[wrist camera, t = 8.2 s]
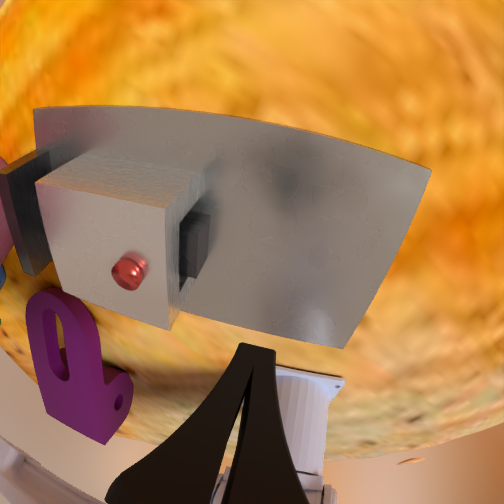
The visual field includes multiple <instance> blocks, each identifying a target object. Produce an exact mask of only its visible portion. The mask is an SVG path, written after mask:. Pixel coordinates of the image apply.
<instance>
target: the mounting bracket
mask: <svg viewBox="0 0 504 504" xmlns="http://www.w3.org/2000/svg"><path fill="white" fill-rule="evenodd" d="M55 313H56V314H57V315H58V317H59V318H60V320H61V322H62V325H63V332H64V340H65V348H61V349H59V345H58V337H57V329H56V320H55ZM26 325H27V332H28V338H29V343H30V349H31V354H32V359H33V363H34V368H35V372H36V376H37V380H38V384H39V388H40V391H41V395H42V399H43V402H44V405H45V408H46V412H47V414H49V415H50V416H52V417H53V418H55V419H57V420H58V421H60V422H62V423H64V424H65V425H67V426H69V427H71V428H72V429H74V430H76V431H78V432H80V433H82V434H83V435H85V436H87V437H89V438H91V439H93V440H95V441H97V442H99V443H101V444H103V445H105V444H106V443H107V442H108V441H109V439H110V438H111V437H112V436H113V434H114V433H115V432H116V431H117V429H118V428H119V427H120V426H121V424H122V423H123V422H124V420H125V419H126V417H127V415H128V412H129V410H130V407H131V403H132V398H133V383H132V381H131V379H130V377H129V375H128V373H125V372H123V371H120V370H117V369H115V368H112V367H110V366H106V367H103V368H102V358H101V346H100V338H99V334H98V330H97V327H96V325H95V322H94V320H93V318H92V316H91V315H90V313H89V311H88V310H87V308H86V307H85V305H84V304H83V303H82V302H81V301H80V300H79V299H78V298H77V297H76V296H73V295H71V294H69V293H66V292H64V291H63V289H60V288H57V287H51V288H48V289H46V290H43V291H40V292H38V293H36V294H34V295H33V296H32V297H31V298H30V299H29V301H28V304H27V307H26Z"/></svg>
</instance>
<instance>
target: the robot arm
mask: <svg viewBox="0 0 504 504" xmlns="http://www.w3.org/2000/svg"><path fill="white" fill-rule="evenodd" d="M344 385H345V379H344V378H339V377H333V376H327V375H321V374H316V373H310V372H305V371H300V370H295V369H290V368H285V367H280V366H276V352H275V350H272V349H268V348H264V347H259V346H255V345H251V344H247V343H243V342H242V343H239V345H238V348H237V350H236V352H235V355H234V357H233V359H232V360H231V362H230V364H229V366H228V367H227V369H226V371H225V372H224V374H223V375H222V377H221V378H220V380H219V381H218V382H217V384H216V385H215V387H214V388H213V390H212V391H211V392H210V393H209V395H208V396H207V397H206V398H205V400H204V401H203V402H202V403H201V405H200V406H199V407H198V408H197V409H196V410H195V412H194V413H193V414H192V415H191V416H190V417H189V418H188V419H187V420H186V421H185V422H184V423H183V424H182V425H181V426H180V427H179V428H178V429H177V430H176V431H175V432H174V433H173V434H172V435H171V436H170V437H169V438H167V439H166V440H165V441H164V442H163V443H162V444H160V445H159V446H158V447H157V448H155V449H154V450H153V451H152V452H150V453H149V454H148V455H147V456H145V457H144V458H143V459H141V460H140V461H138V462H137V463H135V464H134V465H132V466H131V467H129V468H128V469H126V470H125V471H123V472H122V473H121V474H120V475H119V476H118V477H117V478H116V479H115V480H114V482H113V483H112V484H111V486H110V487H109V489H108V492H107V494H106V497H105V501H106V503H108V504H337V492H336V490H335V489H333V488H332V486H331V485H324V486H323V480H324V479H323V478H324V477H323V476H322V469H323V461H324V451H325V441H326V430H327V418H328V404H329V403H330V402H331V400H332V399H333V398H334V397H335V396H336V395H337V393H338V392H339V391H340V390H341V389H342V387H343V386H344ZM244 396H245V397H244ZM243 399H244V400H243ZM242 402H243V403H242ZM241 404H242V407H243V409H242V416H241V422H240V428H239V434H238V441H237V446H236V451H235V455H234V458H233V462H232V466H231V467H226V469H225V473H224V474H219V470H220V466H221V463H222V459H223V456H224V452H225V449H226V445H227V442H228V439H229V436H230V434H231V431H232V428H233V426H234V423H235V421H236V418H237V415H238V413H239V410H240V407H241ZM322 487H323V489H322ZM0 494H1V495H2V496H3V497H4V498H5V499H6V500H7V501H9V503H10V504H106V503H104V502H101V501H100V500H98V499H96V498H94V497H92V496H90V495H88V494H86V493H84V492H82V491H81V490H79V489H77V488H76V487H74V486H72V485H70V484H69V483H67V482H65V481H64V480H62V479H61V478H59V477H57V476H56V475H54V474H53V473H51V472H50V471H48V470H47V469H45V468H44V467H42V466H41V464H40V463H39V462H38V461H36V460H35V459H33V458H32V457H30V456H29V455H28V454H27V453H25V452H24V451H22V450H21V449H19V448H18V447H16V446H14V445H13V444H11V443H10V442H9V441H7V440H6V439H5V438H3V437H2V436H1V435H0Z"/></svg>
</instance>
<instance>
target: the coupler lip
mask: <svg viewBox="0 0 504 504" xmlns="http://www.w3.org/2000/svg"><path fill="white" fill-rule="evenodd" d="M33 114H34V129H35V140H36V150H34V151H32V152H31V153H29V154H27V155H25V156H23V157H21V158H19V159H18V160H16V161H14V162H12V163H11V164H9V165H7V166H5V167H4V168H2V169H0V197H1V201H2V205H3V209H4V213H5V217H6V220H7V224H8V227H9V230H10V234H11V237H12V240H13V243H14V246H15V249H16V252H17V255H18V257H19V260H20V263H21V266H22V268H23V271H24V272H25V273H27V274H30V275H32V276H34V277H37V276H38V274H39V273H40V272H41V271H42V270H43V269H44V268H45V267H46V266H47V265H48V264H49V263H50V262H51V261H52V260H53V258H52V254H51V251H50V247H49V244H48V240H47V236H46V233H45V229H44V224H43V220H42V216H41V212H40V207H39V202H38V197H37V192H36V186H35V182H36V181H38V180H39V179H41V178H42V177H44V176H46V175H47V174H49V173H51V172H52V171H54V170H56V169H57V168H59V167H61V166H62V165H64V164H66V163H67V162H69V161H71V160H73V159H75V158H76V157H78V156H80V155H82V154H83V155H92V156H100V157H108V158H115V159H123V160H130V161H137V162H143V163H150V164H156V165H162V166H168V167H174V168H180V169H186V170H191V171H197V172H200V184H199V197H198V201H197V202H196V203H195V204H194V206H193V207H192V208H191V209H190V211H189V212H188V213H187V214H186V216H185V217H184V218H183V219H182V221H181V222H180V223H179V275H183V276H187V277H191V278H194V285H193V287H192V289H191V291H190V293H189V294H188V296H187V298H186V300H185V302H184V304H183V306H182V308H181V311H184V312H188V313H191V314H195V315H198V316H202V317H205V318H209V319H213V320H216V321H220V322H224V323H228V324H231V325H235V326H239V327H243V328H247V329H251V330H255V331H260V332H264V333H268V334H272V335H277V336H281V337H285V338H290V339H295V340H299V341H304V342H309V343H314V344H319V345H324V346H329V347H334V348H339V349H343V348H344V347H345V345H346V344H347V342H348V341H349V339H350V337H351V336H352V334H353V332H354V331H355V329H356V328H357V326H358V324H359V322H360V321H361V319H362V317H363V316H364V314H365V312H366V311H367V309H368V307H369V305H370V303H371V302H372V300H373V298H374V296H375V295H376V293H377V291H378V289H379V287H380V285H381V283H382V282H383V280H384V278H385V276H386V274H387V272H388V270H389V268H390V266H391V264H392V262H393V260H394V258H395V256H396V254H397V252H398V250H399V248H400V246H401V244H402V242H403V239H404V237H405V235H406V233H407V231H408V229H409V226H410V224H411V222H412V220H413V217H414V215H415V213H416V210H417V208H418V206H419V203H420V201H421V198H422V196H423V193H424V191H425V188H426V186H427V183H428V181H429V178H430V175H431V173H432V170H431V169H429V168H426V167H424V166H421V165H419V164H416V163H413V162H410V161H408V160H405V159H402V158H399V157H396V156H394V155H391V154H388V153H385V152H382V151H379V150H376V149H372V148H369V147H366V146H363V145H359V144H356V143H353V142H349V141H346V140H342V139H338V138H335V137H331V136H327V135H323V134H319V133H315V132H311V131H307V130H303V129H299V128H294V127H290V126H285V125H280V124H275V123H270V122H265V121H260V120H254V119H249V118H243V117H236V116H230V115H223V114H216V113H209V112H200V111H192V110H182V109H171V108H158V107H142V106H114V105H84V106H57V107H42V108H35V109H33Z"/></svg>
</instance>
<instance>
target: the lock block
mask: <svg viewBox="0 0 504 504" xmlns="http://www.w3.org/2000/svg"><path fill="white" fill-rule="evenodd" d="M199 184H200V172H197V171H191V170H186V169H180V168H174V167H168V166H162V165H156V164H150V163H143V162H137V161H130V160H123V159H115V158H108V157H100V156H92V155H83V154H82V155H80V156H78V157H76V158H75V159H73V160H71V161H69V162H67V163H66V164H64V165H62V166H61V167H59V168H57V169H56V170H54V171H52V172H51V173H49V174H47V175H46V176H44V177H42V178H41V179H39V180H38V181H36V182H35V186H36V192H37V197H38V202H39V207H40V212H41V216H42V220H43V224H44V229H45V233H46V236H47V240H48V244H49V247H50V251H51V254H52V258H53V261H54V264H55V268H56V271H57V274H58V277H59V280H60V283H61V286H62V289H63V291H64V292H66V293H69V294H71V295H73V296H76V297H78V298H81V299H83V300H85V301H88V302H90V303H93V304H95V305H98V306H100V307H103V308H106V309H108V310H111V311H113V312H116V313H119V314H121V315H124V316H127V317H130V318H132V319H135V320H138V321H141V322H144V323H147V324H150V325H153V326H156V327H159V328H162V329H165V330H168V331H170V330H171V328H172V326H173V324H174V322H175V320H176V318H177V316H178V314H179V312H180V310H181V308H182V306H183V304H184V302H185V300H186V298H187V296H188V294H189V293H190V291H191V289H192V287H193V285H194V278H191V277H187V276H183V275H179V223H180V222H181V221H182V219H183V218H184V217H185V216H186V214H187V213H188V212H189V211H190V209H191V208H192V207H193V206H194V204H195V203H196V202H197V201H198V197H199Z"/></svg>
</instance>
